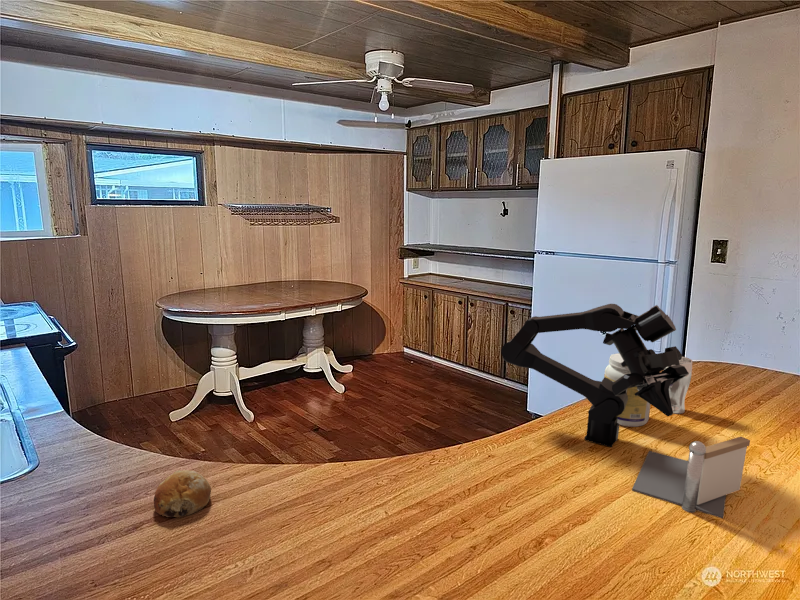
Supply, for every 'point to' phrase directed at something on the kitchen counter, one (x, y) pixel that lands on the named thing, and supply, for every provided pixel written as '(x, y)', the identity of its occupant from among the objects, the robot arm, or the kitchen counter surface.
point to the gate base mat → (671, 482)
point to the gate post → (693, 476)
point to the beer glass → (680, 387)
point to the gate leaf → (722, 469)
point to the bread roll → (182, 494)
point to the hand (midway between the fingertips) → (670, 415)
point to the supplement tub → (636, 406)
